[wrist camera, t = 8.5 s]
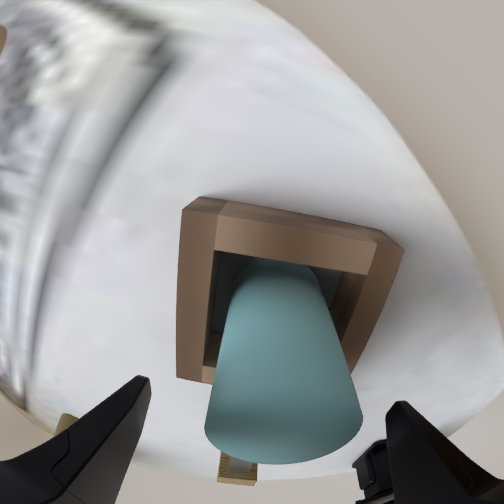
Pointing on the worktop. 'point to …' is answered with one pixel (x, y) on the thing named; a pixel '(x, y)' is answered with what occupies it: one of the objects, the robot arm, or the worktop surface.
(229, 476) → the lock bolt
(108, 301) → the worktop surface
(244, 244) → the dock
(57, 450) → the robot arm
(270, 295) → the peg
